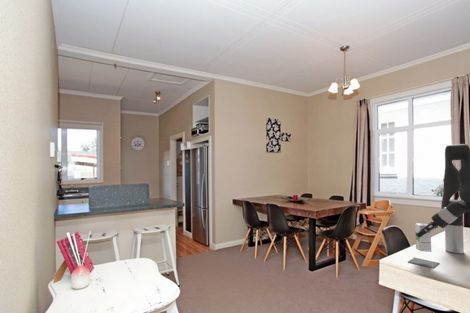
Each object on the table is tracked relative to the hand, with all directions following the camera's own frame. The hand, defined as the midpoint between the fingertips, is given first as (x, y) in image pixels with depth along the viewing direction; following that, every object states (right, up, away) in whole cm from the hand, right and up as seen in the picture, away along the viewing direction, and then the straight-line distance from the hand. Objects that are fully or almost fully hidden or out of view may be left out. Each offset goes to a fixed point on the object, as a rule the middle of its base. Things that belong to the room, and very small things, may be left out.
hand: (420, 235), depth 154 cm
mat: (+1, -15, -1) cm, 16 cm away
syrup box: (+1, -8, -1) cm, 9 cm away
